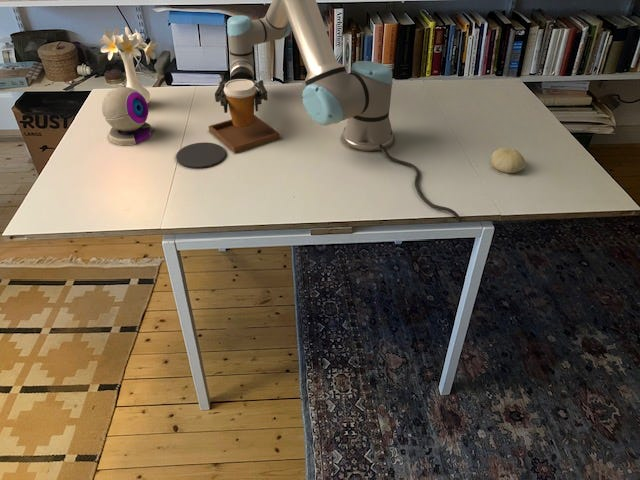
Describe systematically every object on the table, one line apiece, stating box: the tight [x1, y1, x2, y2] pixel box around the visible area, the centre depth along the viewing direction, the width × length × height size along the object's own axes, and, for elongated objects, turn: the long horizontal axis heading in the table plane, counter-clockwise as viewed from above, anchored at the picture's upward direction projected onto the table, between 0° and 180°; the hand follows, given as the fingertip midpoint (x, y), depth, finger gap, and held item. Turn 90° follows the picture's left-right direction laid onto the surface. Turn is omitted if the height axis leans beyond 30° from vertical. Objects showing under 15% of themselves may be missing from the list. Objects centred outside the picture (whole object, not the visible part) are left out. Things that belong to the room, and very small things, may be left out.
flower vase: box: [98, 26, 159, 104], centre depth 175 cm, size 13×18×25 cm
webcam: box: [101, 86, 154, 146], centre depth 163 cm, size 13×13×15 cm
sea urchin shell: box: [490, 147, 526, 174], centre depth 153 cm, size 9×8×8 cm
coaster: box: [175, 142, 226, 169], centre depth 158 cm, size 14×14×1 cm
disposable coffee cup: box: [224, 79, 257, 127], centre depth 161 cm, size 10×10×12 cm
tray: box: [208, 114, 281, 154], centre depth 167 cm, size 17×16×2 cm
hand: (240, 107), depth 157 cm, fingers closed on disposable coffee cup, 8 cm apart
